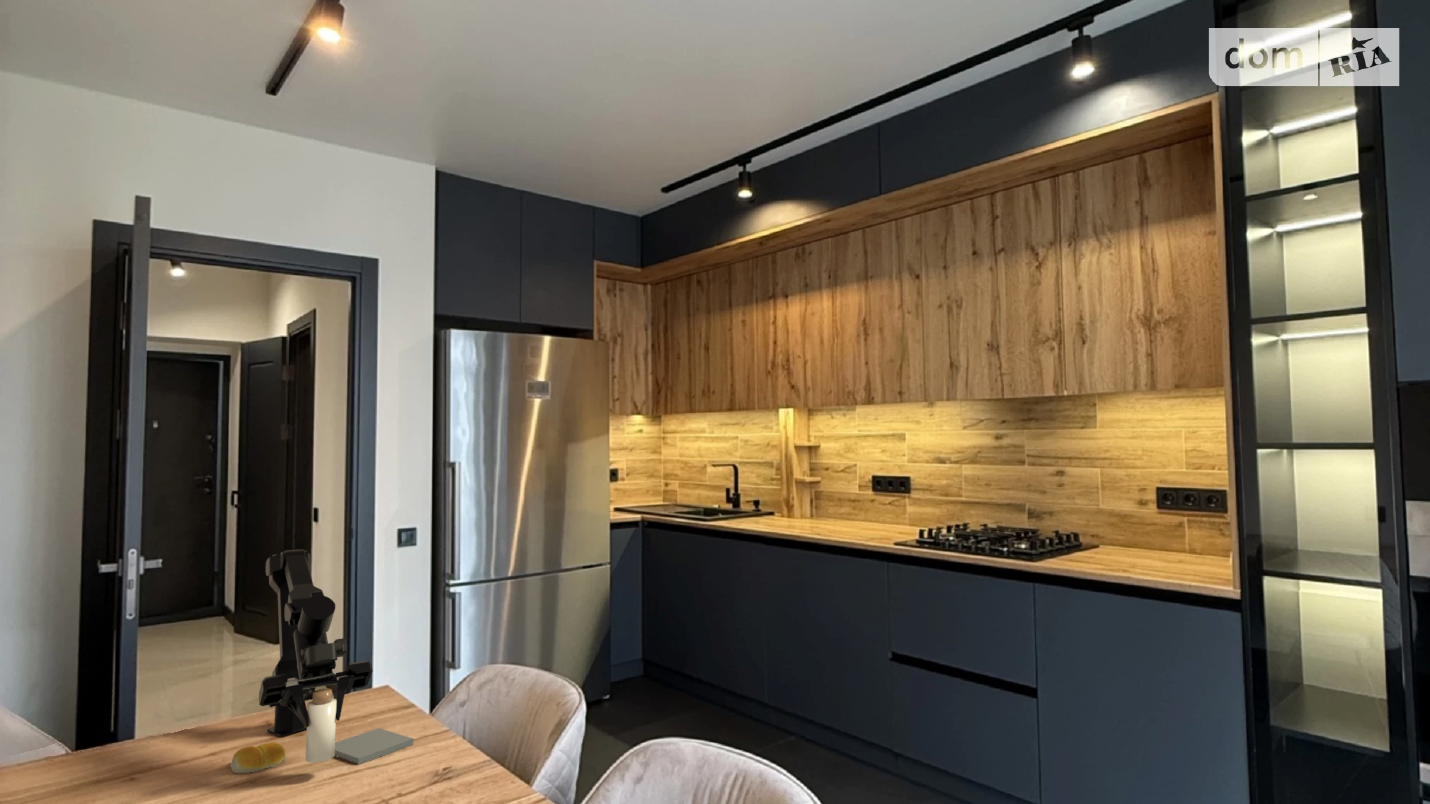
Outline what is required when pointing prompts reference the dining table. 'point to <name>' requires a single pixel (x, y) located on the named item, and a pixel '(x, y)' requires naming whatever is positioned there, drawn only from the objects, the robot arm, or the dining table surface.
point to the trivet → (371, 745)
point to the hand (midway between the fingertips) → (323, 722)
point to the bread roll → (257, 757)
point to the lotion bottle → (321, 727)
